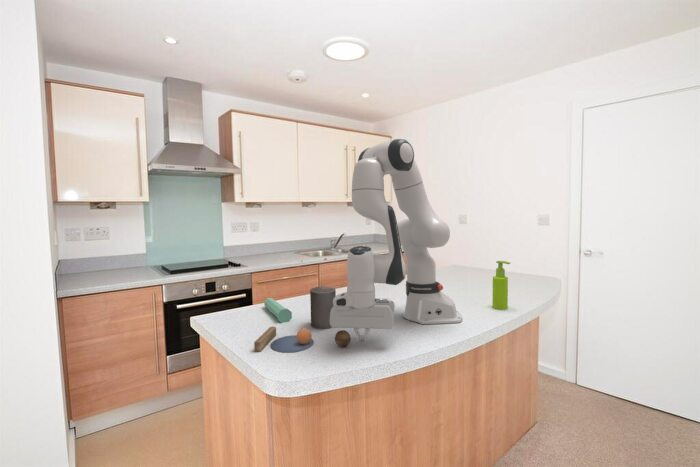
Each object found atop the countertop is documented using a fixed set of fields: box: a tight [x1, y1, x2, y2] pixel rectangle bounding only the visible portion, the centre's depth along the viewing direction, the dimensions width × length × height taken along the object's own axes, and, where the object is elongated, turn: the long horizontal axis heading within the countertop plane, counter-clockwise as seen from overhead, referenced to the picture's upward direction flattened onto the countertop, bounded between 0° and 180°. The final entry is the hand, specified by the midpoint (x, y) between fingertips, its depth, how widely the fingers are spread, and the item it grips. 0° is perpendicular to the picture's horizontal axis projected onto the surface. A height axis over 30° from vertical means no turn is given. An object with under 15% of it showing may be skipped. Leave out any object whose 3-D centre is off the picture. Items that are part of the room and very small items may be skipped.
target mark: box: [270, 334, 315, 354], centre depth 116 cm, size 14×14×1 cm
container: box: [263, 297, 293, 324], centre depth 148 cm, size 6×6×25 cm
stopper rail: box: [253, 326, 277, 352], centre depth 117 cm, size 2×14×3 cm, turn 172°
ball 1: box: [295, 328, 313, 345], centre depth 115 cm, size 5×5×5 cm
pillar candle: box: [309, 285, 337, 330], centre depth 133 cm, size 10×10×15 cm
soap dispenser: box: [491, 260, 511, 311], centre depth 149 cm, size 6×7×20 cm
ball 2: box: [334, 329, 352, 347], centre depth 113 cm, size 5×5×5 cm
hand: (362, 341), depth 112 cm, fingers closed
